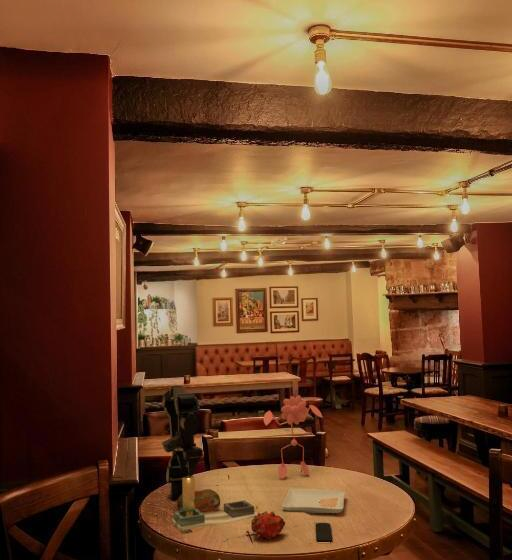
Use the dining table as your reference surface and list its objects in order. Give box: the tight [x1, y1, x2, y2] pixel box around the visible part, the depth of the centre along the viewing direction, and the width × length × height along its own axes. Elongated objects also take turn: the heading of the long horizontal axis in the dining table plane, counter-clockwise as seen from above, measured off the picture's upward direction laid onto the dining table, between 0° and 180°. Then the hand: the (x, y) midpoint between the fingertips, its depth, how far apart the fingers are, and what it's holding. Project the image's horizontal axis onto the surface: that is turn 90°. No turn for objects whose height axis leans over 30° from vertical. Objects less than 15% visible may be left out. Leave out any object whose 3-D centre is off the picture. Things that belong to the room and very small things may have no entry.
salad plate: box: [281, 488, 346, 515], centre depth 206 cm, size 21×21×3 cm
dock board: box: [171, 499, 258, 534], centre depth 193 cm, size 12×28×4 cm, turn 115°
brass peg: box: [182, 475, 196, 517], centre depth 190 cm, size 4×4×14 cm
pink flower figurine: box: [263, 395, 323, 480], centre depth 243 cm, size 15×26×35 cm, turn 107°
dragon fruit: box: [250, 510, 286, 541], centre depth 176 cm, size 8×8×12 cm
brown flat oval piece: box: [176, 488, 221, 514], centre depth 199 cm, size 15×3×8 cm, turn 105°
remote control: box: [314, 522, 334, 544], centre depth 178 cm, size 5×2×15 cm
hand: (186, 473), depth 205 cm, fingers open, 9 cm apart
